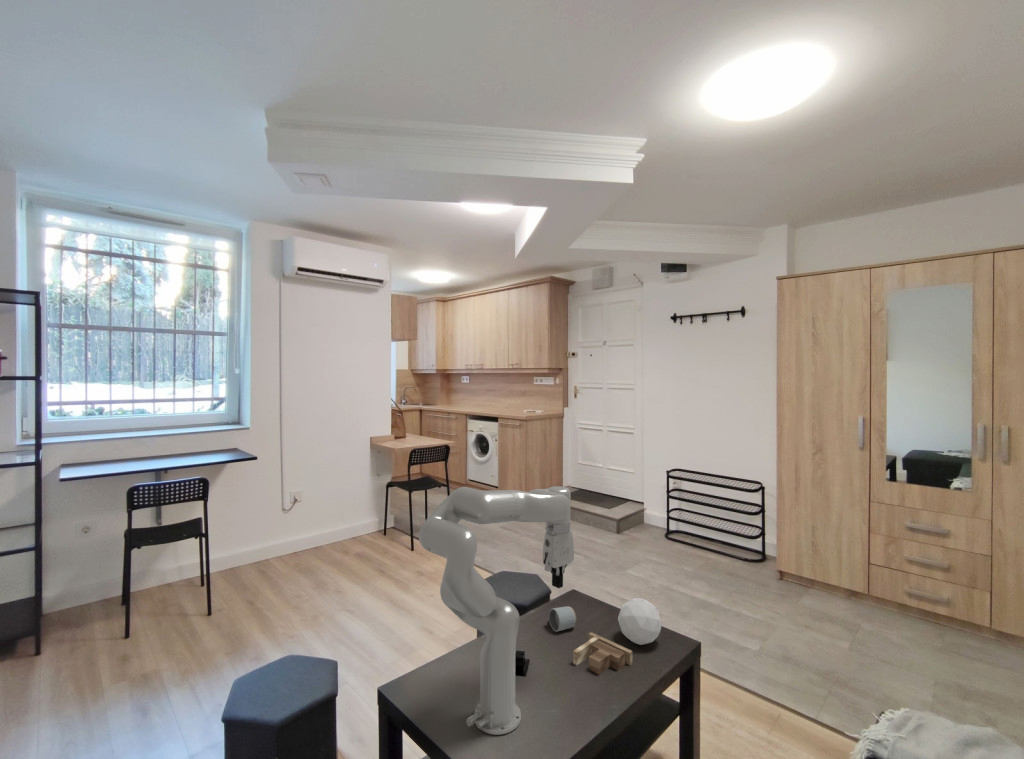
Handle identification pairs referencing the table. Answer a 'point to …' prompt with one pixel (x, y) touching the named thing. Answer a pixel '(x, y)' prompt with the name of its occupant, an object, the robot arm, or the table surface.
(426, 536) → the robot arm
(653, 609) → the white faceted ball
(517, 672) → the build plate
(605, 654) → the tee block
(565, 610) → the ceramic mug
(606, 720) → the table surface
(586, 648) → the light wooden angled piece
